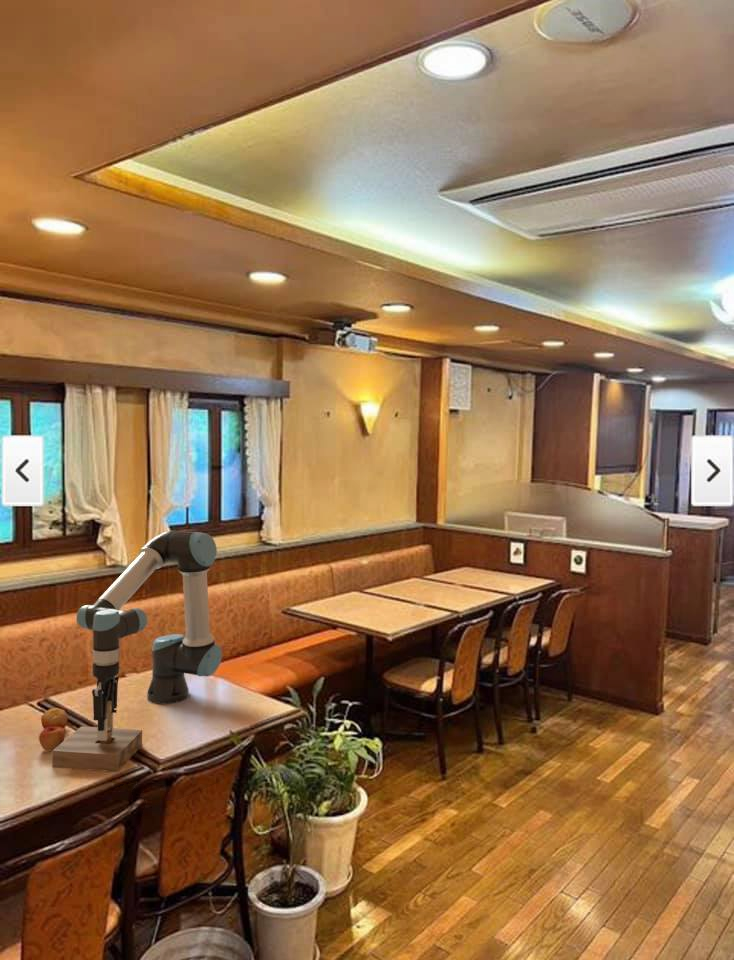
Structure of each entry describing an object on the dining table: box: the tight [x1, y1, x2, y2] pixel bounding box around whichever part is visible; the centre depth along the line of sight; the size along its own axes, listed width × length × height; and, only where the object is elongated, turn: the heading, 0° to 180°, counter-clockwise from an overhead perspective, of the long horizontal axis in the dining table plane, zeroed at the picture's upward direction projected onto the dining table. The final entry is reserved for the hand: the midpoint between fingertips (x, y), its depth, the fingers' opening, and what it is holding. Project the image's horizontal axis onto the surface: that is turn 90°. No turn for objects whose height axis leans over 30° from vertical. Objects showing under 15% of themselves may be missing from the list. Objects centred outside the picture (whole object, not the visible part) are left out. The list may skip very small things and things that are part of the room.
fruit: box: [40, 707, 69, 730], centre depth 233 cm, size 8×8×8 cm
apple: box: [38, 725, 66, 752], centre depth 219 cm, size 7×7×8 cm
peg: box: [99, 700, 112, 744], centre depth 215 cm, size 4×4×14 cm
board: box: [51, 725, 143, 773], centre depth 215 cm, size 18×20×5 cm
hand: (105, 736), depth 215 cm, fingers closed on peg, 3 cm apart
